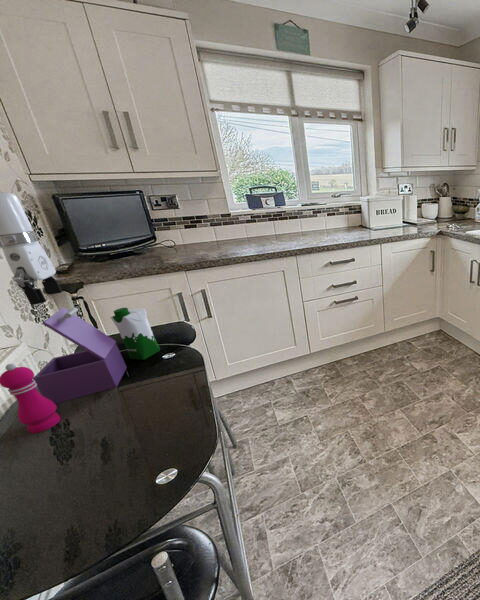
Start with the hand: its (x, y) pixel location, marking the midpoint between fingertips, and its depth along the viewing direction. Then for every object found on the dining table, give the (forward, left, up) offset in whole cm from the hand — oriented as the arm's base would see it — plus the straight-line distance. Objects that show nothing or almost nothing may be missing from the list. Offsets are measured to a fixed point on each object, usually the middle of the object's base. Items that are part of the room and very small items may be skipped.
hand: (47, 298), depth 95 cm
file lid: (+2, +4, -14) cm, 15 cm away
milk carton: (+11, +19, -32) cm, 39 cm away
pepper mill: (-7, -15, -32) cm, 36 cm away
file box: (-2, +4, -32) cm, 32 cm away
